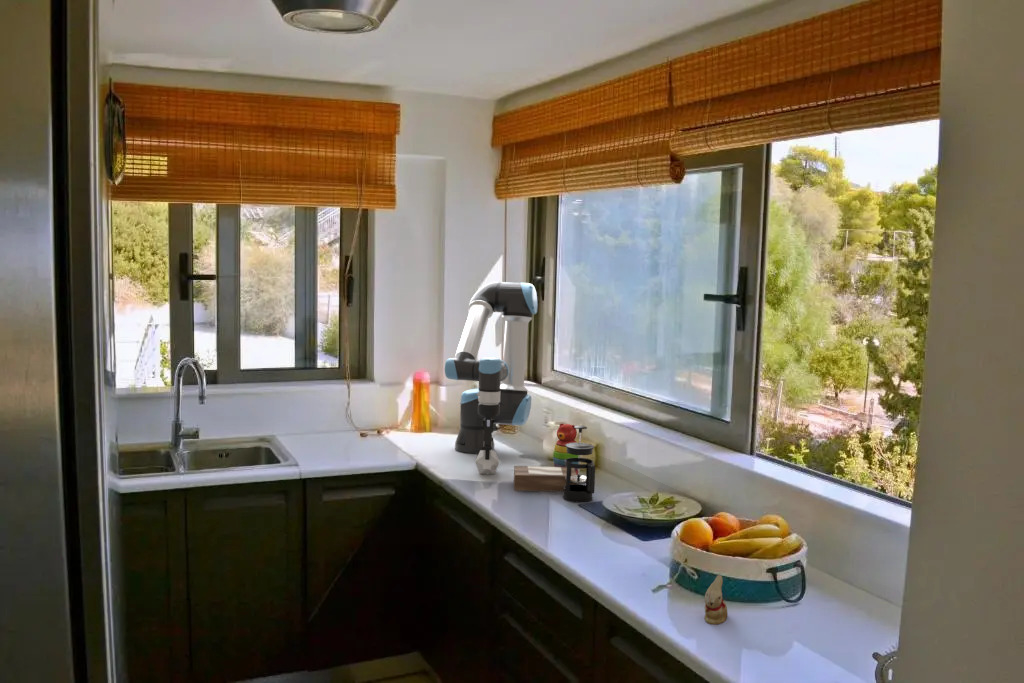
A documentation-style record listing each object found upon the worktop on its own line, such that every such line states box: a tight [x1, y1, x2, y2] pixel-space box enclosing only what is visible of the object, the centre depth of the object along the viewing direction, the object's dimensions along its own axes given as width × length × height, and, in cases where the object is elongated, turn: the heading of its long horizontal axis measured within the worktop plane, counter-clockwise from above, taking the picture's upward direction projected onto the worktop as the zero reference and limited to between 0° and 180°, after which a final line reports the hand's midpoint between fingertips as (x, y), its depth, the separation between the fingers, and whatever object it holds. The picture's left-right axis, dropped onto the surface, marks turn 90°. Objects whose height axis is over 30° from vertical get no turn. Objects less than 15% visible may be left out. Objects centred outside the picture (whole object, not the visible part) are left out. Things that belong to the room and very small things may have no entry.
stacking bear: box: [552, 423, 579, 475], centre depth 311 cm, size 11×10×18 cm
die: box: [474, 450, 500, 475], centre depth 311 cm, size 8×9×10 cm
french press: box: [562, 425, 596, 503], centre depth 282 cm, size 12×9×23 cm
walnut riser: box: [513, 465, 578, 492], centre depth 297 cm, size 12×20×5 cm, turn 91°
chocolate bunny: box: [703, 574, 728, 626], centre depth 194 cm, size 6×8×10 cm
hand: (487, 464), depth 311 cm, fingers open, 13 cm apart
